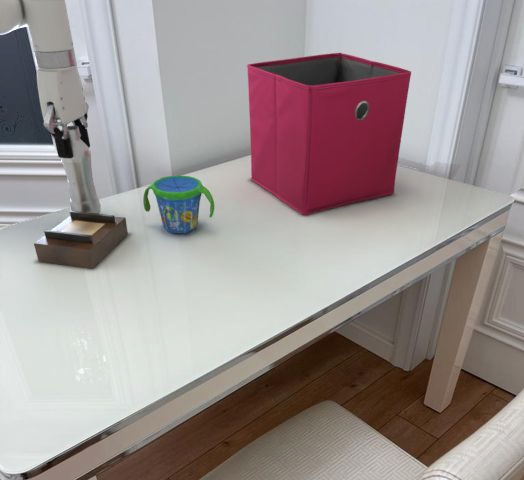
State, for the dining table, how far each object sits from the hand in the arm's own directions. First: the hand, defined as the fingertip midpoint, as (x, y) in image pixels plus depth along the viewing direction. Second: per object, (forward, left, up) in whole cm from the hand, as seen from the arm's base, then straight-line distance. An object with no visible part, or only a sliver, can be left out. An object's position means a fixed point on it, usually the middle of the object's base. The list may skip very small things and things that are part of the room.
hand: (74, 151), depth 118 cm
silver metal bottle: (0, 0, -15) cm, 15 cm away
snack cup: (+23, 0, -15) cm, 28 cm away
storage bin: (+49, +32, -15) cm, 61 cm away
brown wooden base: (+7, -14, -15) cm, 22 cm away
